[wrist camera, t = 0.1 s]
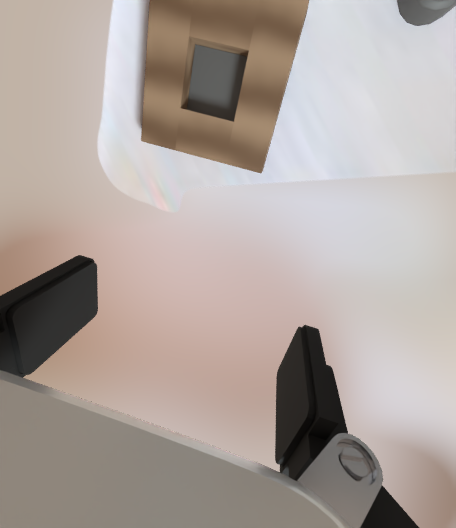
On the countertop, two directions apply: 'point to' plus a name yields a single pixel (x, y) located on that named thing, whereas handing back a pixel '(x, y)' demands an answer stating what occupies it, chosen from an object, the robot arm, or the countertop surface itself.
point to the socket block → (219, 75)
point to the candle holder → (424, 10)
